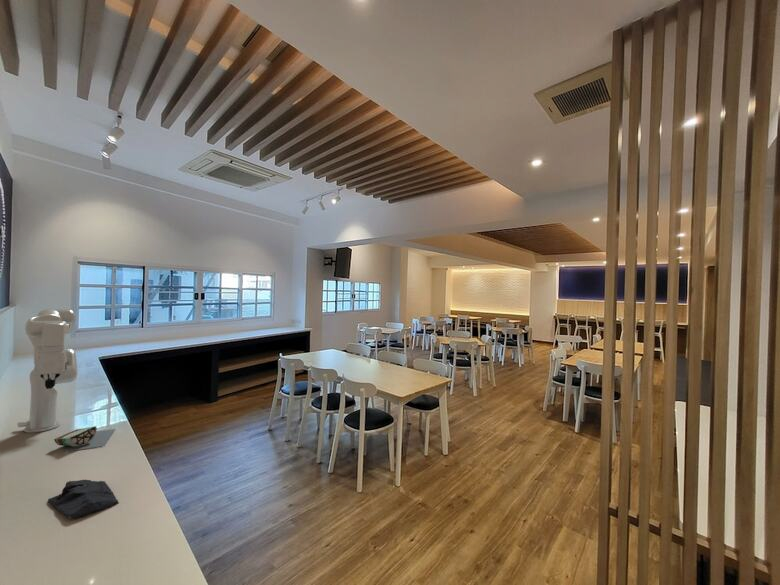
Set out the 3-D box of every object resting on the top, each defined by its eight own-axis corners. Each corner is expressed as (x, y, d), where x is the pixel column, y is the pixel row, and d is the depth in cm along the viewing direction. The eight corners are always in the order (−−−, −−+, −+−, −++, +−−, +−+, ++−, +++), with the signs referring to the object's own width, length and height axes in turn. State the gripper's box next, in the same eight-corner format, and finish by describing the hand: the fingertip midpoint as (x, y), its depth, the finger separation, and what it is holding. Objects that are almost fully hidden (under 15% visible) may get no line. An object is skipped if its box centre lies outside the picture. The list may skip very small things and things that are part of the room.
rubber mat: (67, 452, 144) (67, 451, 144) (83, 433, 163) (83, 432, 164) (104, 446, 151) (104, 445, 151) (115, 429, 170) (115, 428, 170)
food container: (52, 454, 145) (72, 451, 144) (50, 440, 145) (69, 438, 144) (82, 440, 158) (99, 438, 156) (79, 428, 157) (97, 425, 156)
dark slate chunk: (58, 529, 98) (59, 513, 99) (46, 500, 112) (47, 486, 112) (122, 504, 111) (122, 490, 111) (104, 481, 124) (105, 469, 124)
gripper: (26, 350, 146) (23, 391, 146) (70, 350, 153) (68, 389, 153) (34, 348, 153) (31, 387, 152) (76, 347, 160) (74, 384, 159)
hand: (49, 387), depth 153 cm, fingers closed
